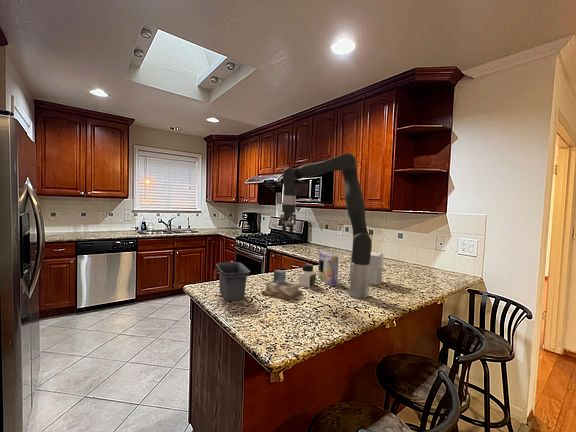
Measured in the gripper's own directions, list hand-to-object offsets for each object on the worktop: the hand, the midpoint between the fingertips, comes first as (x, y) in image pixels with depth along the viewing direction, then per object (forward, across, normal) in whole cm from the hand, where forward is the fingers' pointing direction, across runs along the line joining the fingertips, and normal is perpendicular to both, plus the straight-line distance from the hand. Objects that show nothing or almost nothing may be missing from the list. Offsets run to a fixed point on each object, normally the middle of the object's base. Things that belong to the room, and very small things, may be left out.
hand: (287, 232), depth 166 cm
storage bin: (+30, -32, +14) cm, 46 cm away
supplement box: (+30, +40, -36) cm, 62 cm away
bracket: (+29, -14, -6) cm, 32 cm away
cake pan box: (+30, +22, -17) cm, 41 cm away
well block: (+30, -14, -6) cm, 34 cm away
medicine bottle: (+30, +8, -10) cm, 33 cm away
